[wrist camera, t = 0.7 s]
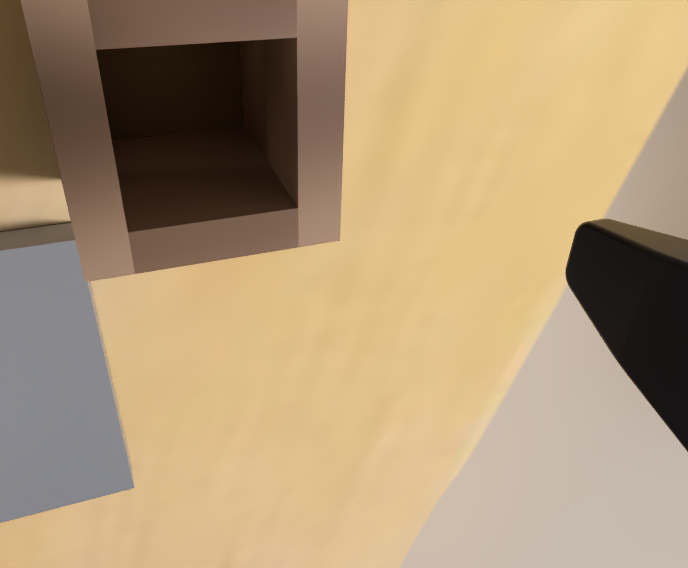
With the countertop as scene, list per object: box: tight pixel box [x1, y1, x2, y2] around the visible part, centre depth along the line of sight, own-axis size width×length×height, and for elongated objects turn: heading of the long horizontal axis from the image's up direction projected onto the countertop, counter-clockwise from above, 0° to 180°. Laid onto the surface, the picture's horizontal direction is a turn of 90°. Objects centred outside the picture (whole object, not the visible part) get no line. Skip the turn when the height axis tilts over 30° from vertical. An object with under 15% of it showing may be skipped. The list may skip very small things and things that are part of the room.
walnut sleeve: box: [20, 0, 348, 282], centre depth 15 cm, size 6×6×5 cm
